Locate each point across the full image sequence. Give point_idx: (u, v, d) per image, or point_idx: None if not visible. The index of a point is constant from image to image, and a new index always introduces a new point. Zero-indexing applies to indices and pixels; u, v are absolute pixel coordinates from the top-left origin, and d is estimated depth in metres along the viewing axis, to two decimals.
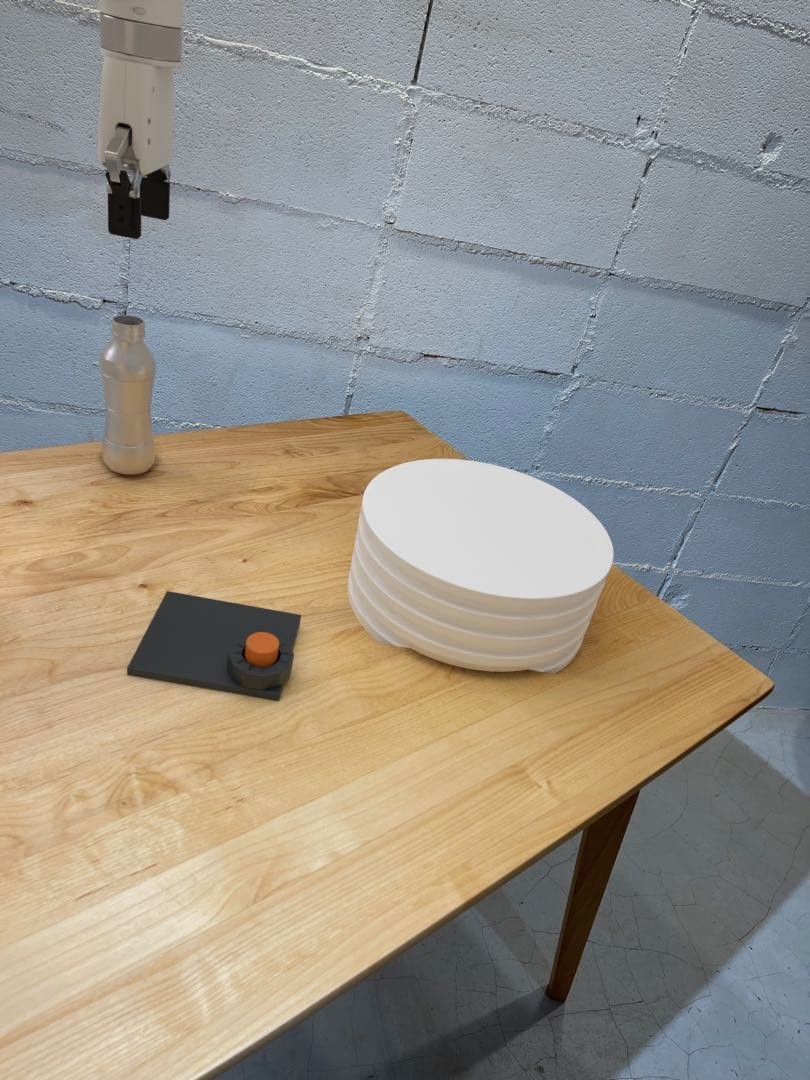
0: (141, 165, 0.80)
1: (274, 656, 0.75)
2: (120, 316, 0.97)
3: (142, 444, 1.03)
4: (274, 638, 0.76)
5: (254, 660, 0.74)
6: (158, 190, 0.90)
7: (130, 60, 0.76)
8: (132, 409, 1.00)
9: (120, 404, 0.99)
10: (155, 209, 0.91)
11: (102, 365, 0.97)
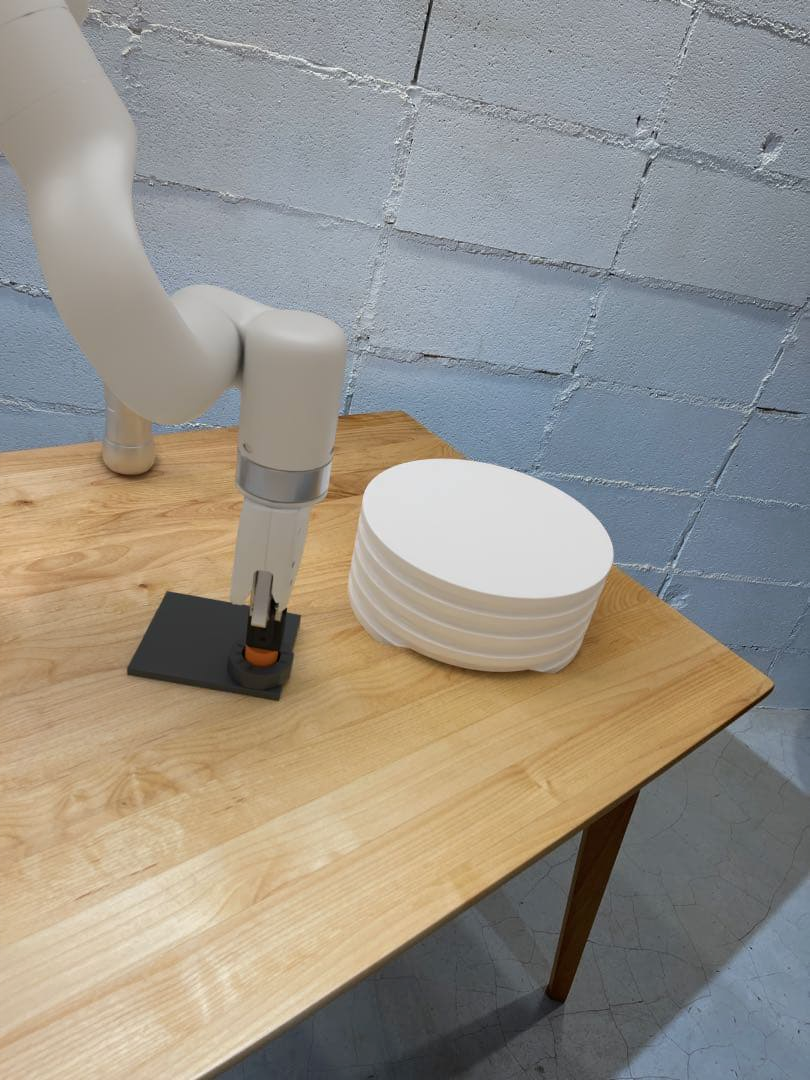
0: (280, 607, 0.67)
1: (274, 658, 0.75)
2: None
3: (142, 444, 1.03)
4: None
5: (254, 661, 0.74)
6: None
7: (275, 507, 0.63)
8: None
9: (120, 404, 0.99)
10: None
11: None
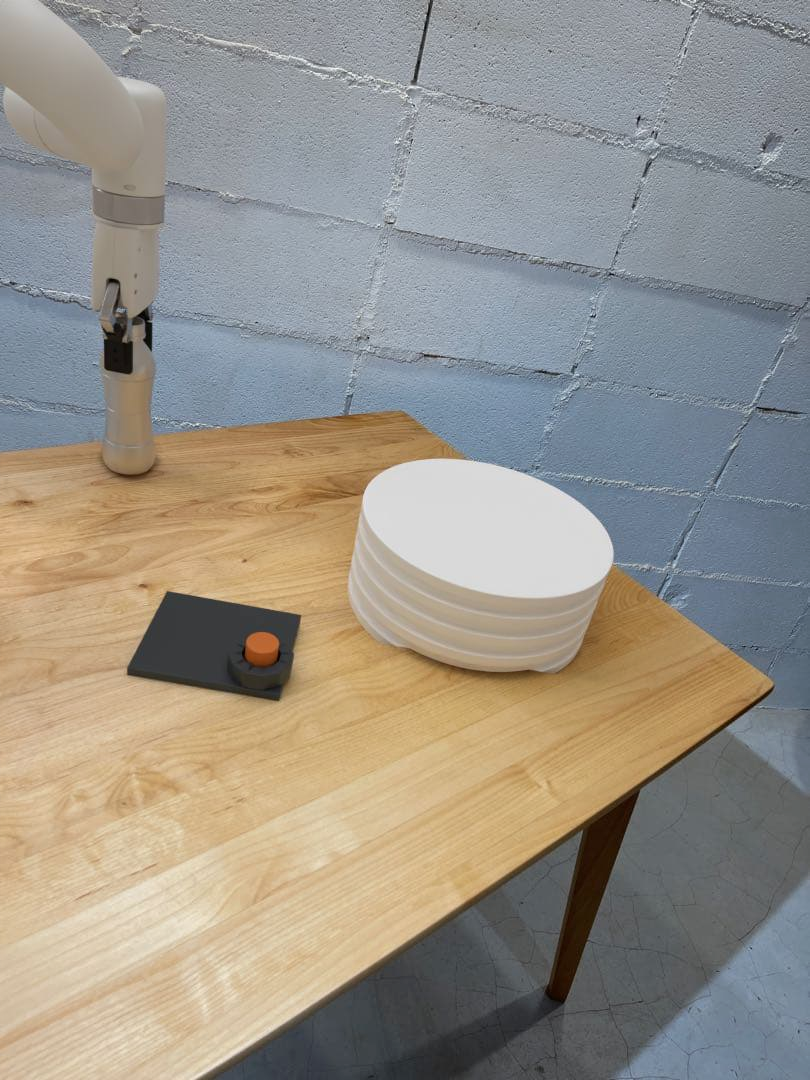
0: (128, 312, 0.91)
1: (274, 656, 0.75)
2: None
3: (142, 444, 1.03)
4: (274, 638, 0.76)
5: (254, 660, 0.74)
6: None
7: (118, 226, 0.87)
8: (132, 409, 1.00)
9: (120, 404, 0.99)
10: None
11: (102, 365, 0.97)
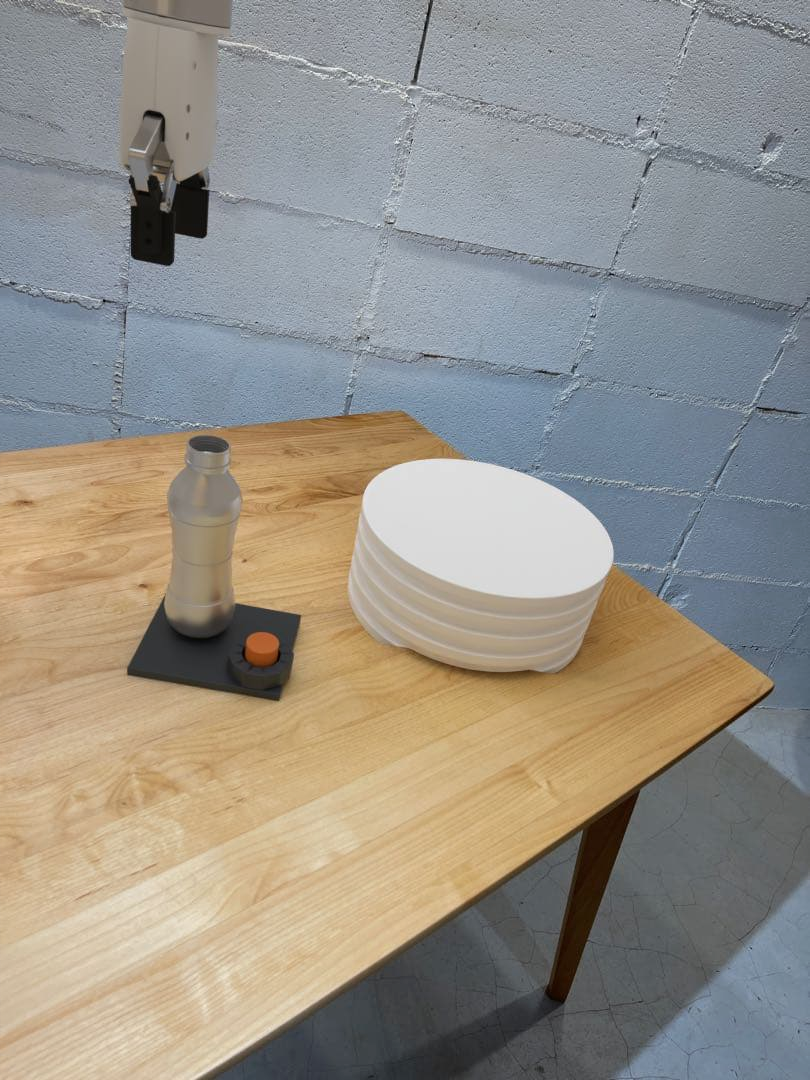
0: (176, 168, 0.59)
1: (274, 656, 0.75)
2: (197, 437, 0.70)
3: (220, 600, 0.76)
4: (274, 638, 0.76)
5: (254, 660, 0.74)
6: (194, 200, 0.69)
7: (164, 24, 0.55)
8: (210, 559, 0.73)
9: (194, 554, 0.73)
10: (189, 225, 0.70)
11: (172, 505, 0.70)
